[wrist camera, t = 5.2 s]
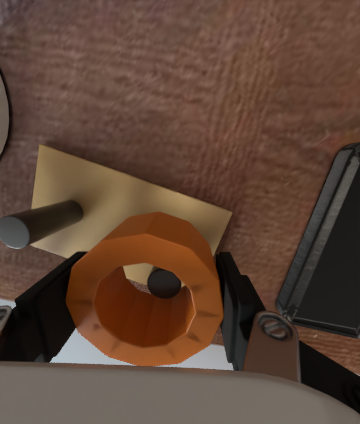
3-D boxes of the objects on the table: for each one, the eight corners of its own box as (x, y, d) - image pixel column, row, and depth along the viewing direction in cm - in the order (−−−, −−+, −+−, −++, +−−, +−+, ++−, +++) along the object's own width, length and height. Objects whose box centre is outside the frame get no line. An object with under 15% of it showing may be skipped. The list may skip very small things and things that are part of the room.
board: (31, 241, 16) (-48, 277, 11) (44, 144, 14) (-47, 129, 9) (193, 297, 16) (194, 359, 11) (231, 210, 14) (255, 235, 9)
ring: (93, 291, 12) (56, 342, 8) (117, 196, 10) (82, 212, 7) (189, 322, 12) (190, 382, 9) (229, 235, 10) (250, 268, 7)
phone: (278, 321, 15) (357, 137, 11) (272, 310, 16) (342, 140, 12) (369, 341, 15) (480, 162, 11) (357, 329, 16) (454, 163, 12)
